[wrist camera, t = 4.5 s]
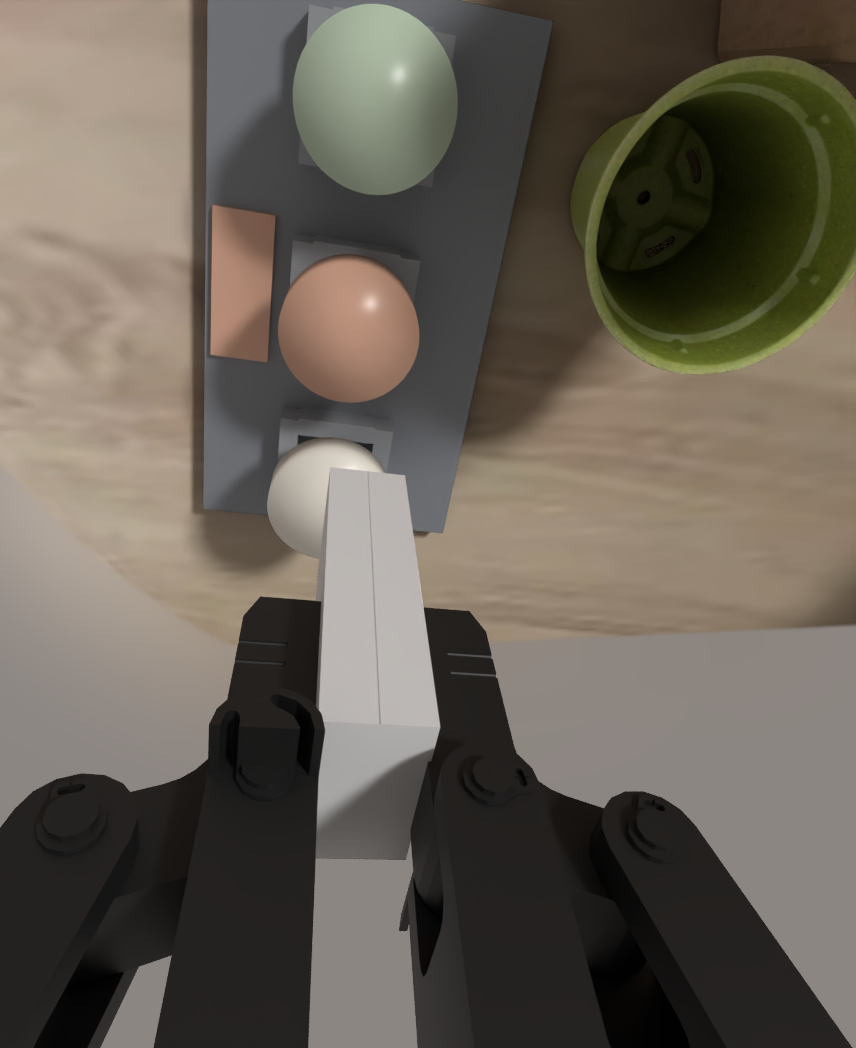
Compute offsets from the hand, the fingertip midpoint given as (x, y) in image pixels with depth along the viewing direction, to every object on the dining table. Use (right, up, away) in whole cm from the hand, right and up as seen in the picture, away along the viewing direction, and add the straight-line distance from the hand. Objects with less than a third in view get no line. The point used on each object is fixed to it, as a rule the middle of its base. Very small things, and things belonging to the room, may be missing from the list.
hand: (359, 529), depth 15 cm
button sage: (0, +15, +10) cm, 18 cm away
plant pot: (+10, +14, +15) cm, 23 cm away
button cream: (-3, +2, +18) cm, 18 cm away
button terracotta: (-2, +9, +14) cm, 17 cm away
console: (-2, +10, +16) cm, 19 cm away
